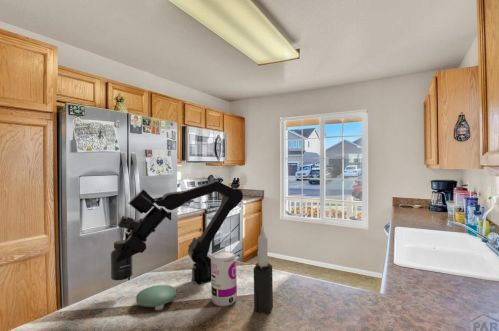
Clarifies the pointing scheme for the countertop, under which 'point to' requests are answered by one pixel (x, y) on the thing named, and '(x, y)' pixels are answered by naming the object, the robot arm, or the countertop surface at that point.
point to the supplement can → (223, 278)
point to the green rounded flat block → (156, 296)
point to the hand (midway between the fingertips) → (117, 258)
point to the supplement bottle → (120, 263)
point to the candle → (263, 278)
